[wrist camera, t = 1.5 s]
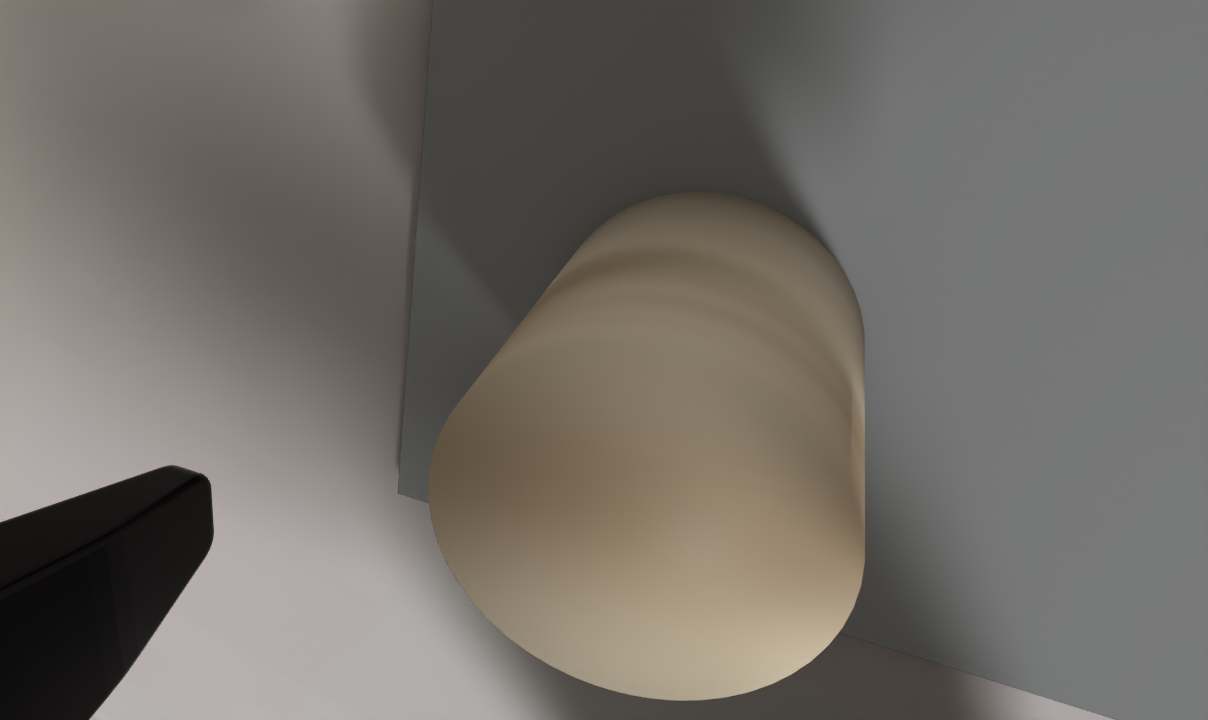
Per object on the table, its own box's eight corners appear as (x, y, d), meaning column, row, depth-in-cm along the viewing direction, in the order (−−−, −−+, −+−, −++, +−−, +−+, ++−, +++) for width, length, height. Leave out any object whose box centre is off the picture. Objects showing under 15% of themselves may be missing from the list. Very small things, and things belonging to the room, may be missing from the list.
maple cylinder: (811, 507, 15) (790, 751, 11) (534, 425, 16) (414, 625, 12) (911, 240, 13) (936, 420, 9) (578, 156, 13) (445, 283, 9)
